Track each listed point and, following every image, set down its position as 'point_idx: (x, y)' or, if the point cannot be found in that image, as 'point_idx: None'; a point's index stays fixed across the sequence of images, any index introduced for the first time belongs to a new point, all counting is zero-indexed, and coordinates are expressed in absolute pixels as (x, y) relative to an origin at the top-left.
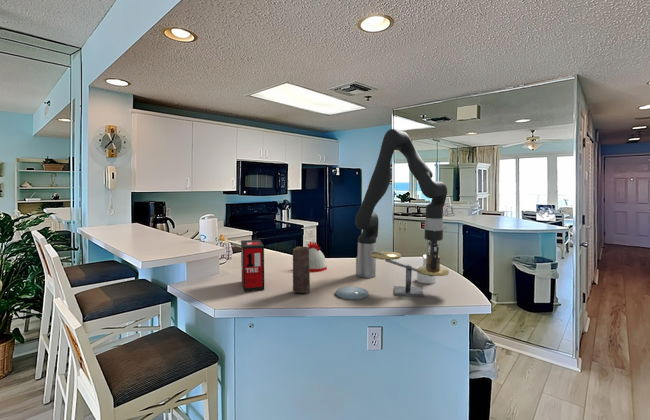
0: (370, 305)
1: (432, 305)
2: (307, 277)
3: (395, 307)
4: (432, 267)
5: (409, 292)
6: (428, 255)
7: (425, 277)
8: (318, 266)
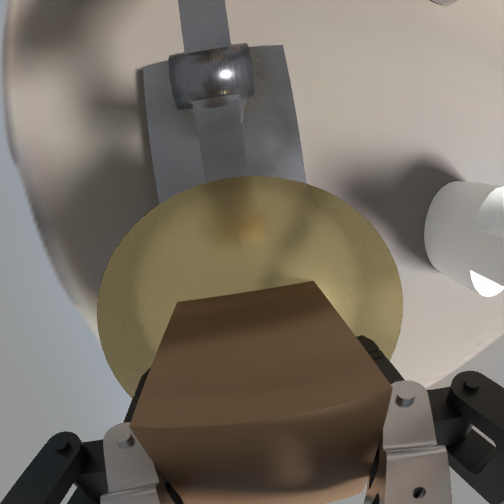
0: (16, 48)
1: (67, 275)
2: None
3: (7, 132)
4: (142, 378)
5: (174, 141)
6: (302, 435)
7: (444, 230)
8: None
